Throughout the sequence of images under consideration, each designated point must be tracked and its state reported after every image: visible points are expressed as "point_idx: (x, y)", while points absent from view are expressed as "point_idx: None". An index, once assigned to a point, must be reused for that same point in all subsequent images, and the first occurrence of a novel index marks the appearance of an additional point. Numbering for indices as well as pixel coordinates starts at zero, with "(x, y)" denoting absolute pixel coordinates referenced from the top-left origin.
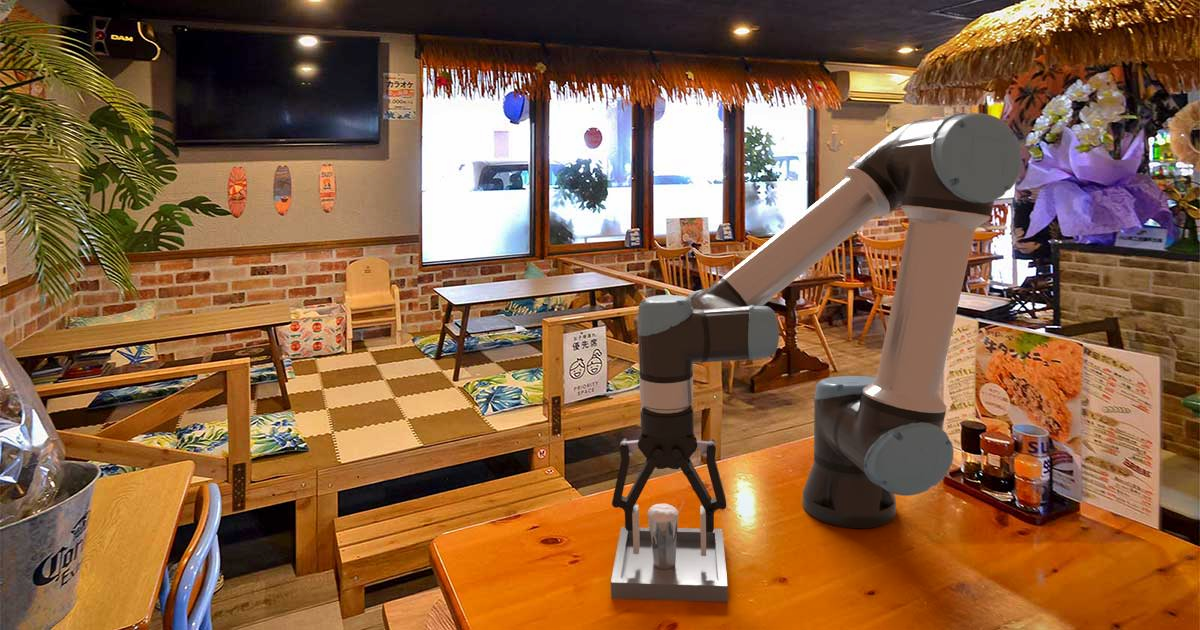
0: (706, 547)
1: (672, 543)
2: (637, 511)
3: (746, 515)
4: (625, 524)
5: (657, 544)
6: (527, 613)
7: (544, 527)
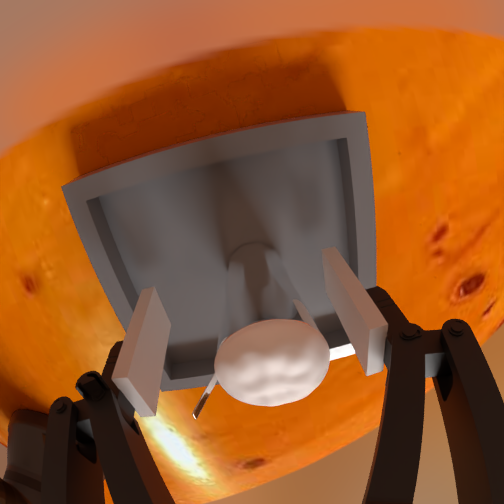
0: (181, 345)
1: (228, 290)
2: (369, 340)
3: (162, 430)
4: (389, 297)
5: (272, 273)
6: (470, 50)
7: (476, 315)
